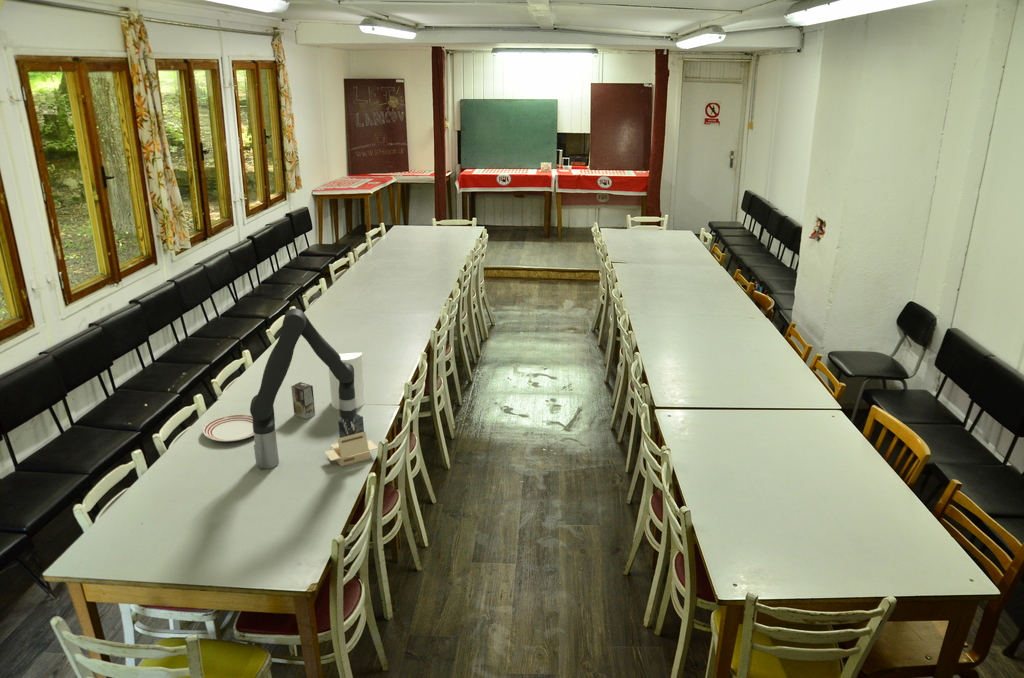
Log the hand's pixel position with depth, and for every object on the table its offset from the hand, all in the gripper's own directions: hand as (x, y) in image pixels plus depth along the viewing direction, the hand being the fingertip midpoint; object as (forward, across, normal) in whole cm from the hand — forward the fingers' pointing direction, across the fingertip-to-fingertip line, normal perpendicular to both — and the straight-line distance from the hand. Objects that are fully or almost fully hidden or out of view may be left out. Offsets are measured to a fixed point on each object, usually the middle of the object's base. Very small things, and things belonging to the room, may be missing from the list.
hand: (349, 440), depth 345 cm
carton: (+9, 0, 0) cm, 9 cm away
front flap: (+4, +7, 0) cm, 8 cm away
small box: (+9, -16, +7) cm, 20 cm away
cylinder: (+10, -53, +19) cm, 58 cm away
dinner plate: (+10, -51, -40) cm, 65 cm away
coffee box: (+10, -52, -5) cm, 53 cm away
